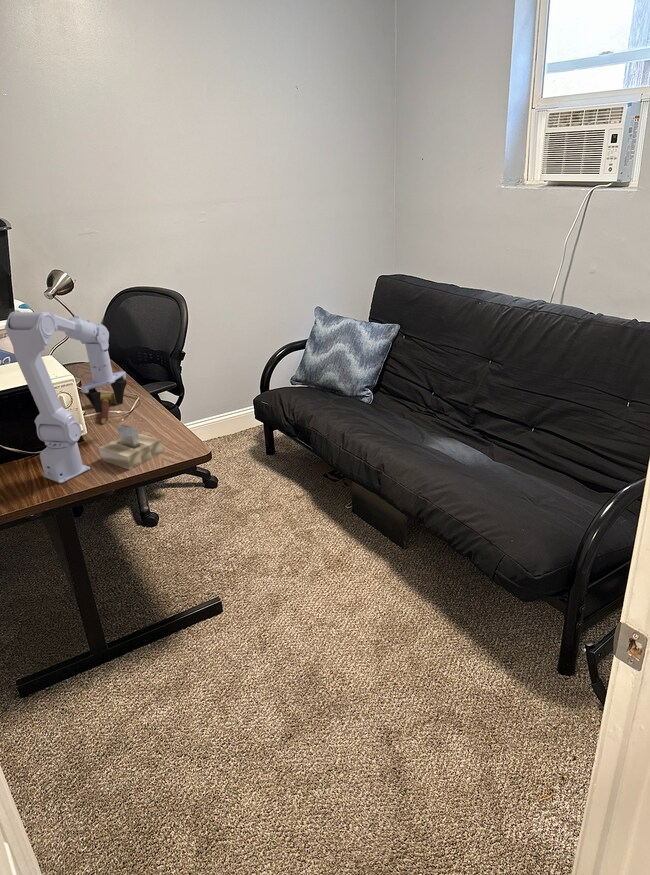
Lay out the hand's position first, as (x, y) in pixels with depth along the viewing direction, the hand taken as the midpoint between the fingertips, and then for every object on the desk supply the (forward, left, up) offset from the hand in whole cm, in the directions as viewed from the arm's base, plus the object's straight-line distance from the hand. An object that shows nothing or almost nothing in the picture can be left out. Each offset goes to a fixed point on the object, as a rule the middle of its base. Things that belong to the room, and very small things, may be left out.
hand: (109, 407), depth 183 cm
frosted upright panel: (-7, -16, -9) cm, 20 cm away
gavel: (+11, +19, -10) cm, 24 cm away
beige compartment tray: (-7, -16, -9) cm, 20 cm away
